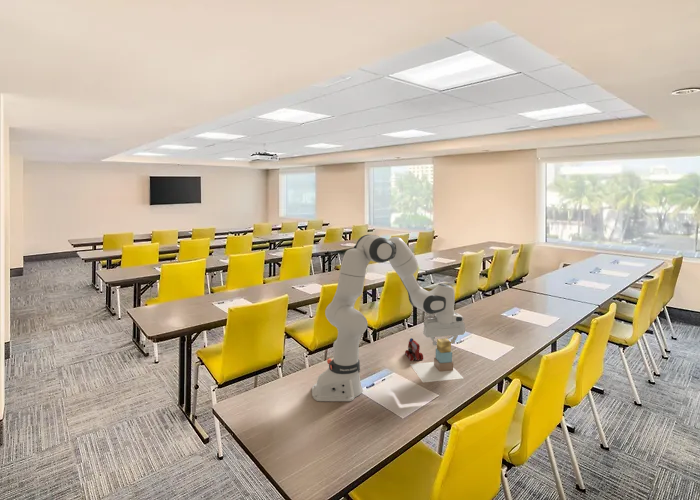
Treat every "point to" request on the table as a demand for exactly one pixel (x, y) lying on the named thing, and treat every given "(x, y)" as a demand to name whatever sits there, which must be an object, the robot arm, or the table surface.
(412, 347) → the toy fire truck
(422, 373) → the board
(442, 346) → the ochre block
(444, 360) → the teal block
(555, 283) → the table surface
